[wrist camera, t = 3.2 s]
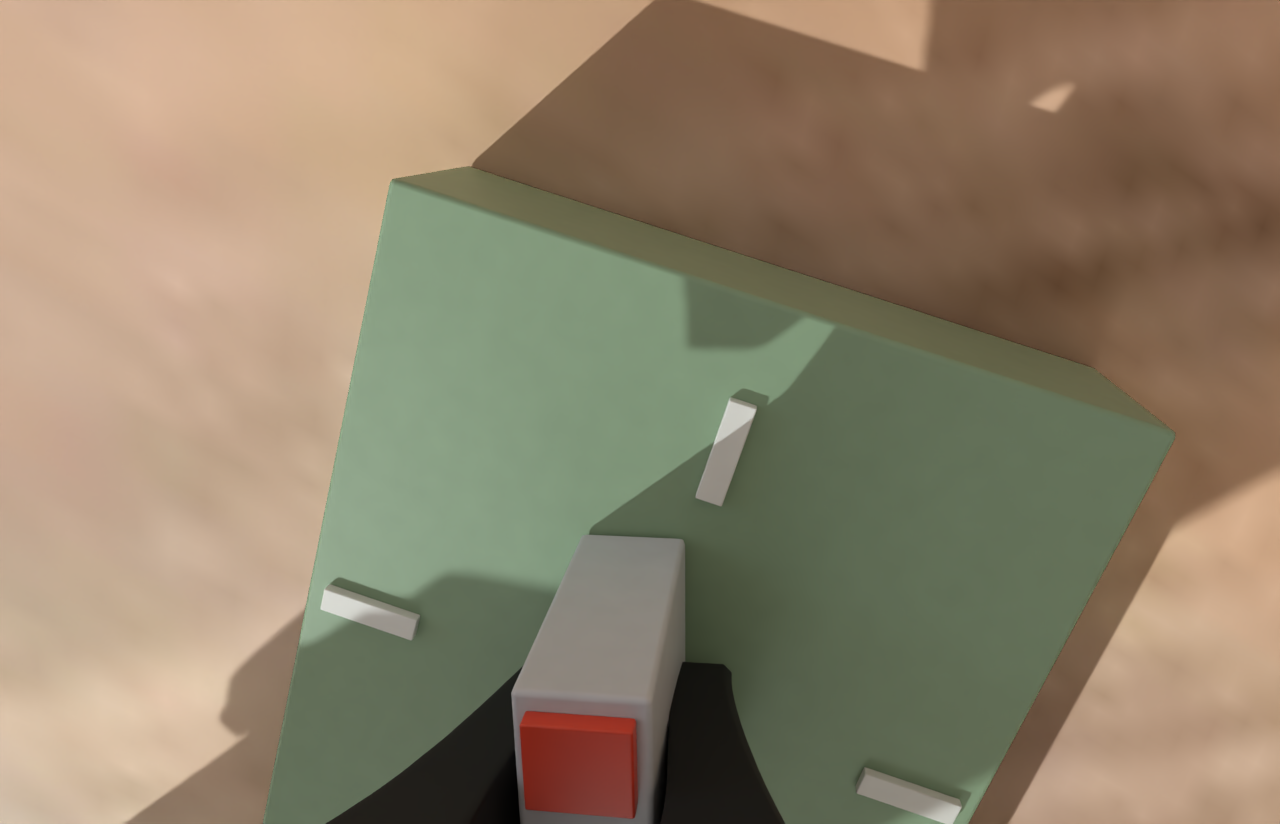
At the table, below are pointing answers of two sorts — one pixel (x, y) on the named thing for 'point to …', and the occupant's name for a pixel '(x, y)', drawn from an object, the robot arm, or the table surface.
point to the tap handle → (602, 686)
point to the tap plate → (698, 501)
